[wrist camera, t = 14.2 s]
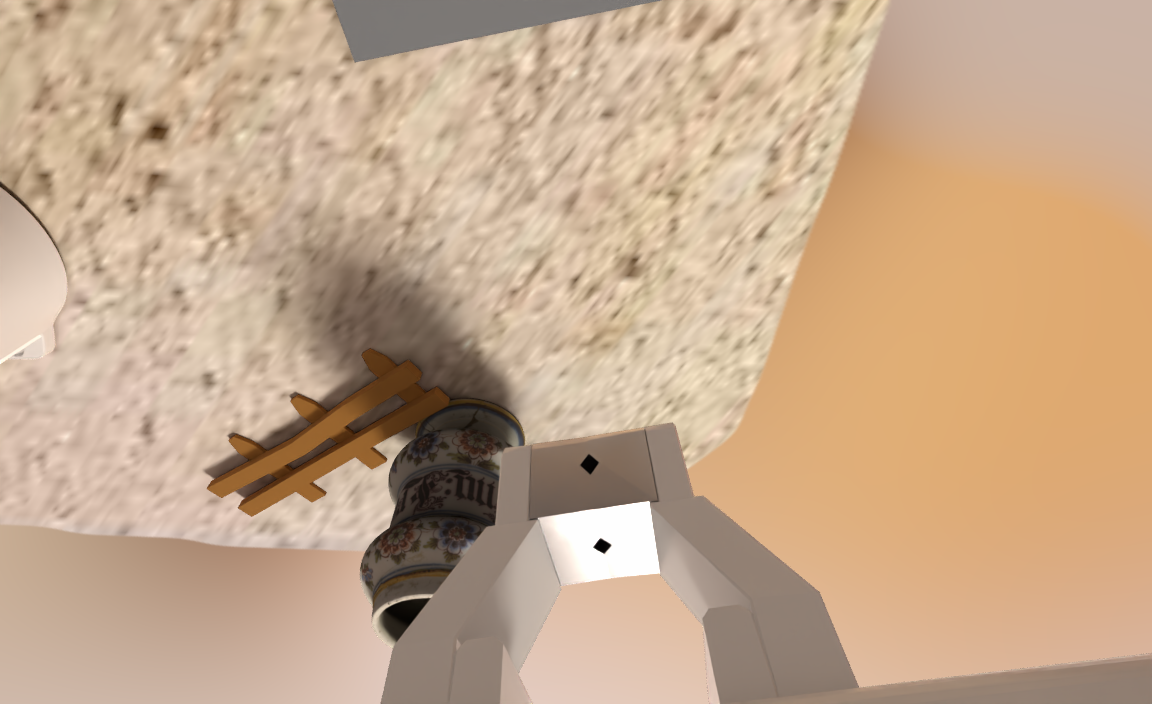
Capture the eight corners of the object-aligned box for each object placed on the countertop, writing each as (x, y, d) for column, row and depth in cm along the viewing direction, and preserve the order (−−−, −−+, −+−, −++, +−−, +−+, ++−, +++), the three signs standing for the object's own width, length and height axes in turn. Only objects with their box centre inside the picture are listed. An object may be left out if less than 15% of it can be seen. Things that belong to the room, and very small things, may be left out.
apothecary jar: (375, 419, 50) (301, 614, 36) (491, 367, 47) (462, 557, 33) (454, 497, 57) (418, 690, 42) (560, 456, 54) (561, 648, 39)
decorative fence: (470, 408, 51) (389, 332, 46) (467, 423, 49) (383, 346, 44) (280, 513, 58) (194, 458, 53) (272, 529, 57) (182, 474, 52)
